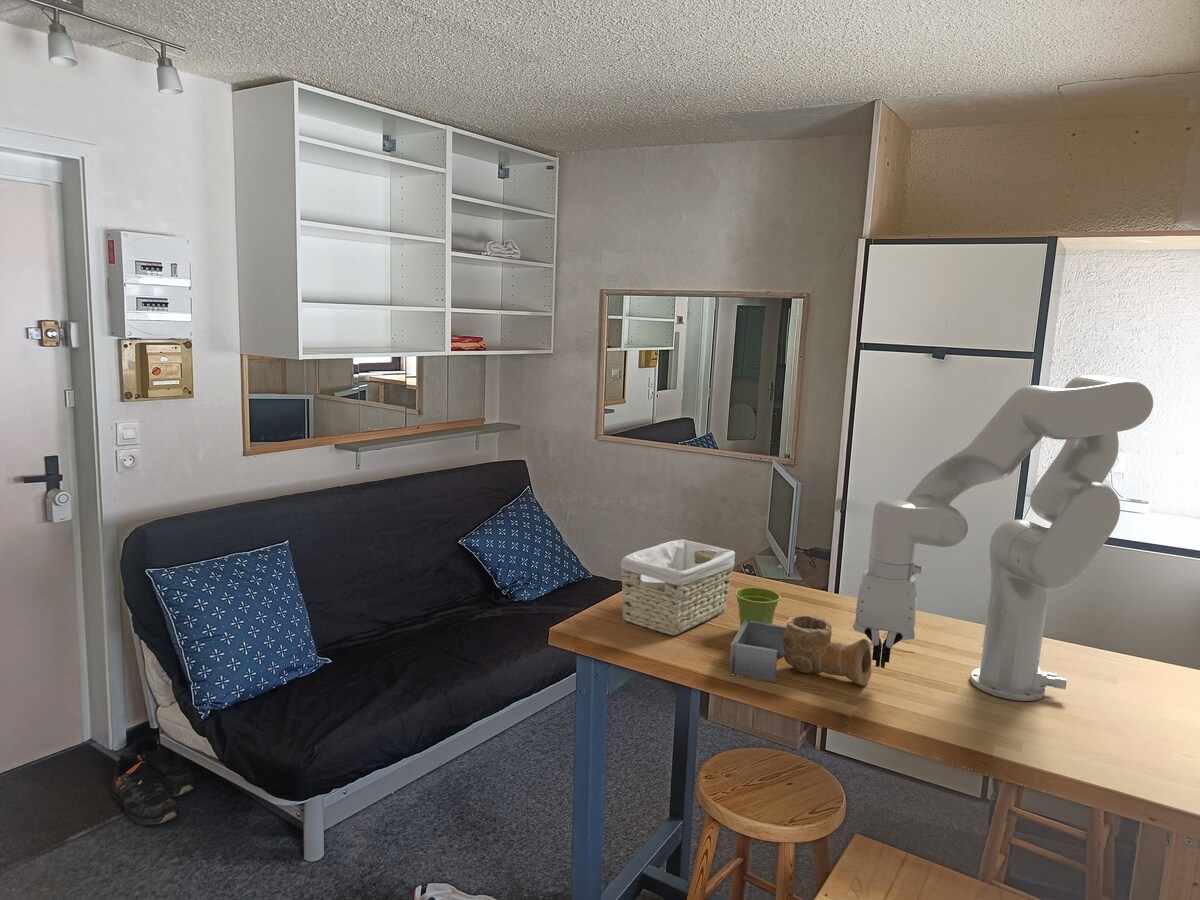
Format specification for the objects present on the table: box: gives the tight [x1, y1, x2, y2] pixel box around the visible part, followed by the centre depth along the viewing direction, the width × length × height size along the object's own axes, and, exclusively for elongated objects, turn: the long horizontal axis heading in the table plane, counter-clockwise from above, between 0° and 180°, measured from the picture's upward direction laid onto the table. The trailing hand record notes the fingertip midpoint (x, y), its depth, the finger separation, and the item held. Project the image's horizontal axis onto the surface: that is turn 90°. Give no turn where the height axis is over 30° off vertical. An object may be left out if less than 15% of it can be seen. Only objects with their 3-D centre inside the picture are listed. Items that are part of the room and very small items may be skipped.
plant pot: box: [734, 586, 781, 627], centre depth 176 cm, size 9×9×9 cm
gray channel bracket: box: [728, 620, 787, 684], centre depth 160 cm, size 8×14×6 cm, turn 160°
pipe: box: [782, 614, 873, 686], centre depth 156 cm, size 9×16×10 cm, turn 64°
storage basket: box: [620, 538, 736, 636], centre depth 183 cm, size 24×16×15 cm
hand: (880, 664), depth 152 cm, fingers closed
